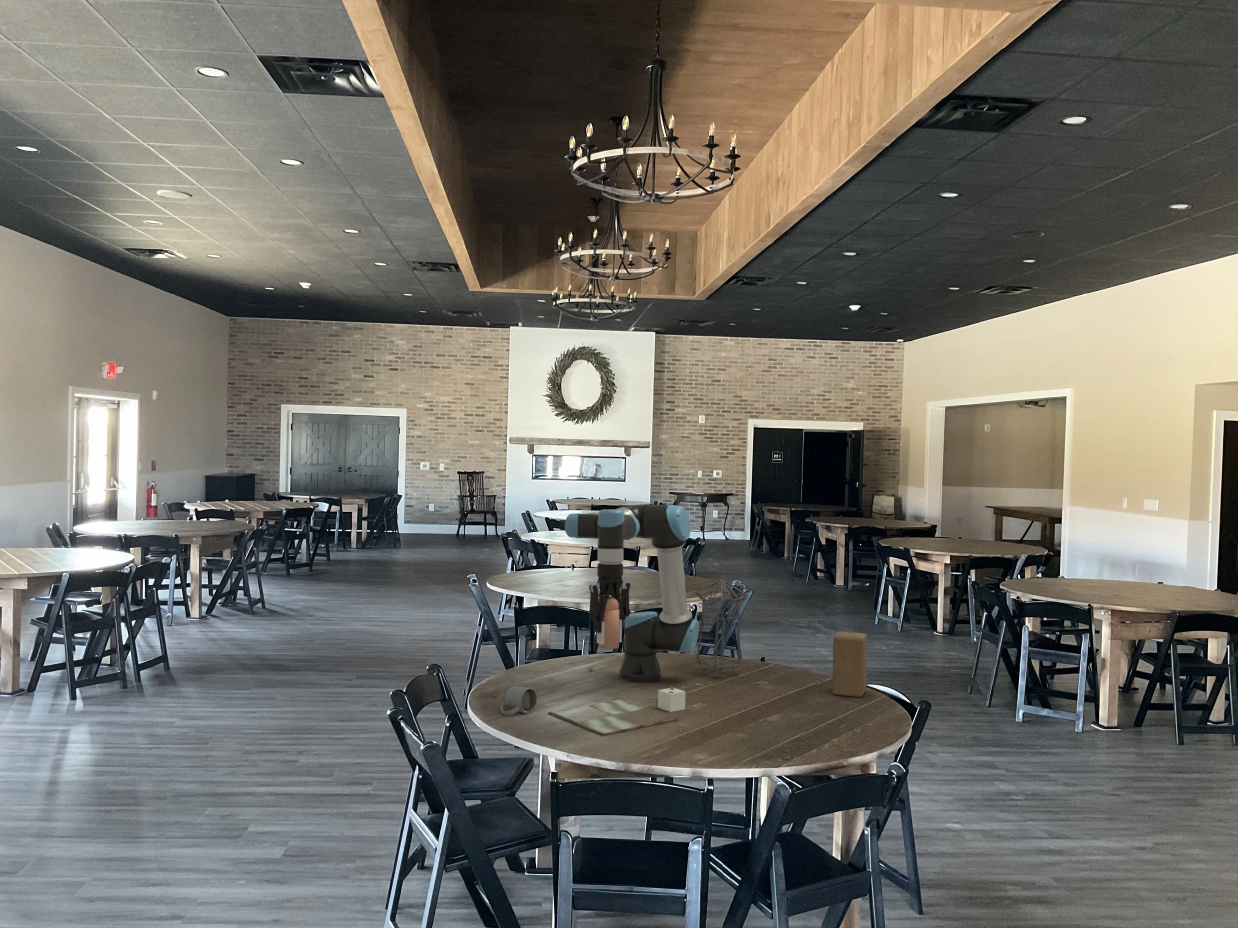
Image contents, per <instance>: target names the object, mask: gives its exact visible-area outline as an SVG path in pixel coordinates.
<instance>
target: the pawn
mask: <svg viewBox="0 0 1238 928" xmlns="http://www.w3.org/2000/svg"><path fill="white" fill-rule="evenodd" d="M618 608H619V604H618V601H617V600H616V599H615V598H613V597H611V596H609V598H608V599H607V603H606V607H605V612H604V616H603V620H602V621H604V622H605V636H604V644H603V645H602V644H599V648H600V649H604V650H605V649H606V650H614V649H619V646H620V642H619V609H618Z"/></svg>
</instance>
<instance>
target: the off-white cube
mask: <svg viewBox="0 0 1238 928" xmlns="http://www.w3.org/2000/svg"><path fill="white" fill-rule="evenodd" d="M657 708H658V709H661V710H663V711H667V712H670V713H672V712H676V711H677V712H678V711H681V710H686V691H685V690H683V689H682V690H681V689H678V688H675V687H670V688H662V689H658V690H657Z"/></svg>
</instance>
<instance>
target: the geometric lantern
mask: <svg viewBox="0 0 1238 928" xmlns="http://www.w3.org/2000/svg"><path fill="white" fill-rule="evenodd" d="M719 585H720V589H718V588H719ZM708 588H709V589H708ZM705 589H708V590H707V591H706V592H702V591H704V590H705ZM735 590H736V591H738V592H740V593H741V594H737V593H736V591H735ZM718 592H720V597H718V596H717V594H718ZM727 594H728V595H727ZM693 595H696V596H697V597H698V598H699V599H700V600H701V602H702V603H703V606H702V609H701V614H700V624H699V635H698V645H697V652H696V662H697V664H699V666H700V667H701V668H702V675H705V676H709V677H714V678H717V679H718V678H726V677H729V676H732V675H733V670H734V669H736V668H738V667H739V666H741V640H740V639H741V630H740V629H741V616H740V611H739V605H740V604H741V603H743V602H744V601H745V600H747V599H748V598H749V594H747V593H745V592H744V591H742V590H741V589H739V588H738V587H736V586H734V584H732V583H731V582H728V581H727V580H725V579H720V578H719V579H718V580H716V581H715V582H714V581H713V583H711V584H708V585H706V586H704V587H702V588H700V589H699V590H696V591H694V592H693ZM708 595H709V596H708ZM723 595H724V598H723ZM716 596H717V597H716ZM733 597H734V598H733ZM706 598H707V599H706ZM713 600H715V601H713ZM721 600H726V601H727V604H726V605H725V607H724V609H723V610H722V611H720V610H719V609H718V607H717V605H716V603H717V602H720V601H721ZM707 602H708V603H707ZM733 603H734V605H733ZM707 606H710V607H711V609H712V612H705V610H706V607H707ZM713 606H714V607H715V608H716V611H715V609H714V607H713ZM728 606H729V609H728V610H727V611H726V609H727V608H728ZM735 607H736V614H732V613H728V612H729V611H730V609H731V608H735ZM725 611H726V612H725ZM711 614H714V615H715V617H714V616H710V615H711ZM720 614H721V617H719V615H720ZM726 615H728V616H732V617H727V618H726ZM733 616H734V617H733ZM704 617H707V618H709V619H714V620H716V625H715V632H714V633H715V634H714V645H713V654H712V656H709V657H702V658H700V653H701V652H700V649H701V641H702V639H701V638H702V629H703V626H704V625H703V624H704V623H703V622H704ZM731 619H737V634H738V635H737V636H738V638H737V639H738V640H737V644H738V645H737V647H738V648H737V660H735V659H730V658H725V620H731ZM720 621H721V627H720ZM719 628H721V630H720V629H719ZM719 630H720V653H719V654H720V656H718V644H719ZM709 659H712V661H713V664H710V663H706V662H704V661H703V660H709ZM725 660H726V661H730V662H734V663H735V664H728V665H727V664H726V665H725ZM720 661H721V663H722V665H719V662H720ZM702 664H703V665H706V666H705V667H704V666H703V665H702ZM711 667H713V669H710V668H711ZM718 668H719V669H720V668H721V669H720V670H718ZM715 669H716V670H715ZM723 669H727V670H723ZM705 670H707V671H705ZM712 672H714V673H717V676H716V675H711V674H708V673H712ZM719 673H720V674H719ZM722 673H723V674H726V675H722ZM719 675H720V676H719Z"/></svg>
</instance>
